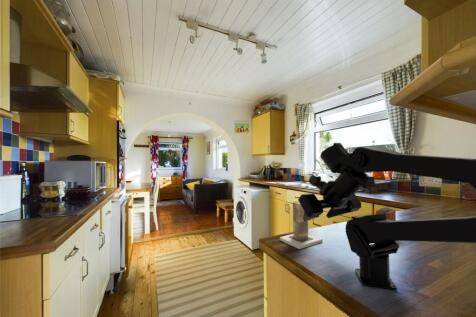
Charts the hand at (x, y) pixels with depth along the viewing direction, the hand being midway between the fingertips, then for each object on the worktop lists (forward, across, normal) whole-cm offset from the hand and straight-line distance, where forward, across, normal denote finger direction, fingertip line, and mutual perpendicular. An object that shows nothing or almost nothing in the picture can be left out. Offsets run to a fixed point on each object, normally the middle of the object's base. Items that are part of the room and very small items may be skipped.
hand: (316, 218), depth 63 cm
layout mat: (+12, 0, +1) cm, 12 cm away
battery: (+7, -32, +7) cm, 34 cm away
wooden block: (+11, 0, +1) cm, 11 cm away
